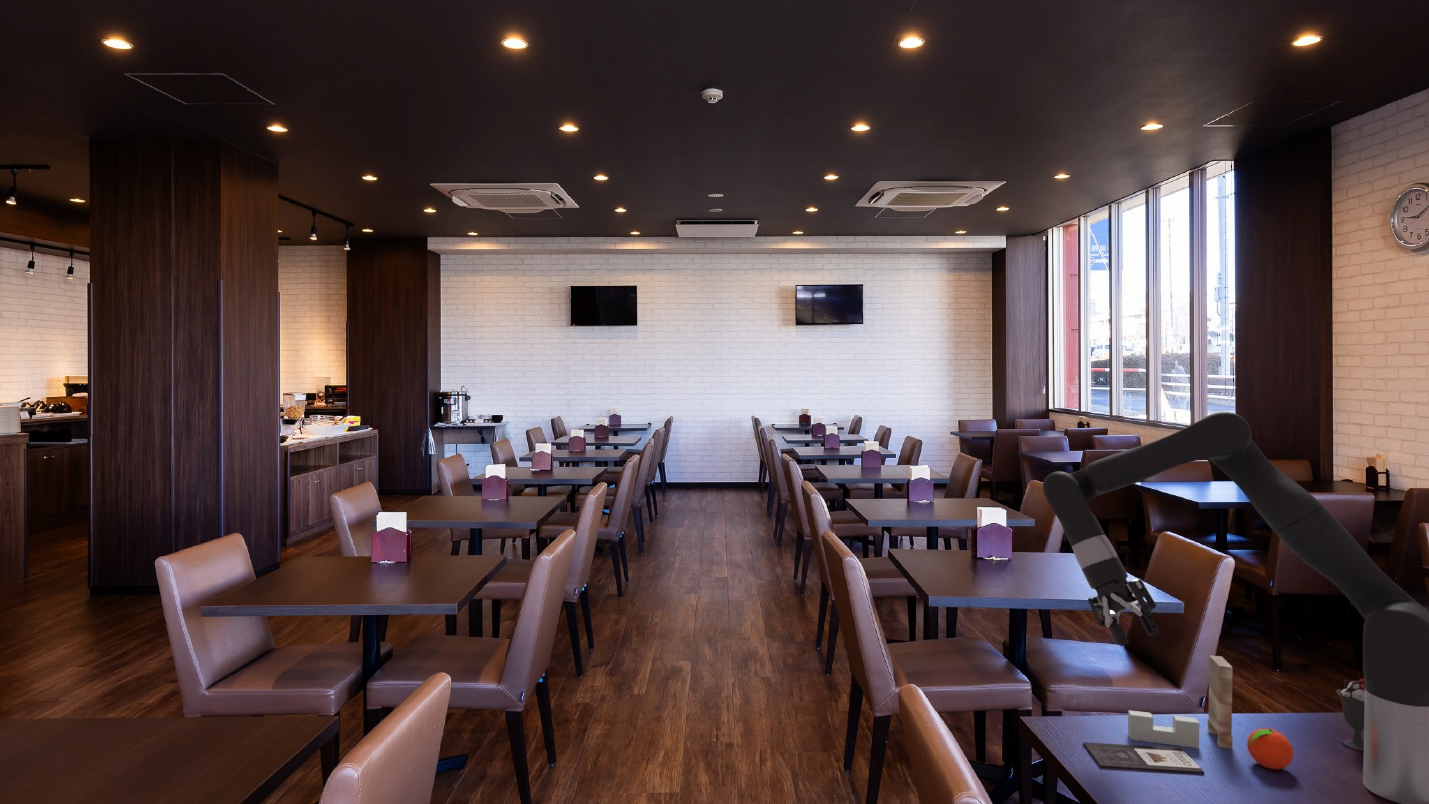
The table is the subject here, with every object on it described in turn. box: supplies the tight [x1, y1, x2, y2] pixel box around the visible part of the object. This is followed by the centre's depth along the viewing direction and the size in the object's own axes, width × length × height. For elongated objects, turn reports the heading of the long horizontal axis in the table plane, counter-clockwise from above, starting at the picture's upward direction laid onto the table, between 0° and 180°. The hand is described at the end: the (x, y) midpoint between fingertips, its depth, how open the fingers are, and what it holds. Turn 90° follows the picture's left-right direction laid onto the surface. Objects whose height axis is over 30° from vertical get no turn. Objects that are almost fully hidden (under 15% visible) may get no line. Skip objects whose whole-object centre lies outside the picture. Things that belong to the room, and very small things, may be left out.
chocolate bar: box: [1082, 741, 1205, 776], centre depth 141 cm, size 9×1×18 cm
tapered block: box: [1207, 655, 1233, 750], centre depth 148 cm, size 2×7×16 cm, turn 162°
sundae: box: [1336, 677, 1365, 752], centre depth 145 cm, size 7×7×15 cm
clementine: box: [1246, 727, 1294, 770], centre depth 137 cm, size 8×7×7 cm
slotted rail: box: [1127, 710, 1200, 749], centre depth 147 cm, size 12×2×5 cm, turn 72°
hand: (1138, 639), depth 146 cm, fingers open, 8 cm apart
